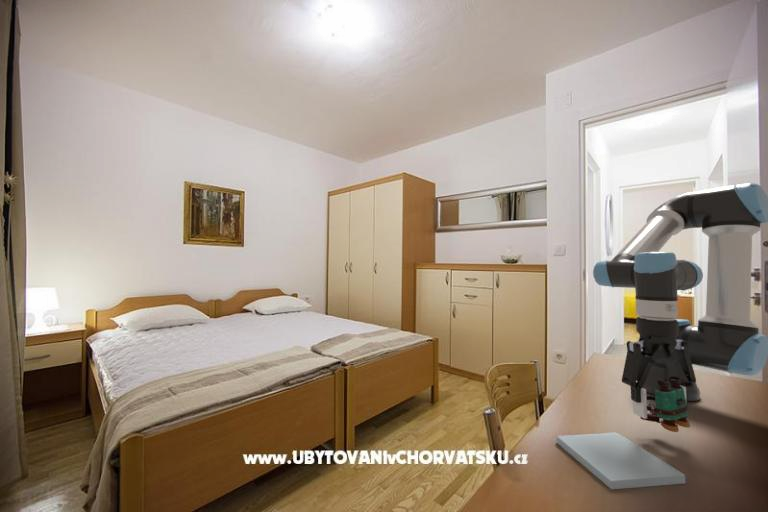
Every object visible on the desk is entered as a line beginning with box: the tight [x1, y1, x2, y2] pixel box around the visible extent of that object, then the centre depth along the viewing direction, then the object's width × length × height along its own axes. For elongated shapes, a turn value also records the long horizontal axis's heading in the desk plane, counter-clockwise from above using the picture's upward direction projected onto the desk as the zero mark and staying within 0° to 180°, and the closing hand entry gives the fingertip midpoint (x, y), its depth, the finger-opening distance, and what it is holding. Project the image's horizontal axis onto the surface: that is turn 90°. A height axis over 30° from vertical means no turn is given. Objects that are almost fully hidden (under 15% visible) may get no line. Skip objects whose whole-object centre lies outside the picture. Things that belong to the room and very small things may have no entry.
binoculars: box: [639, 376, 691, 433], centre depth 73 cm, size 9×11×10 cm
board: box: [556, 432, 686, 490], centre depth 65 cm, size 15×15×2 cm
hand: (659, 414), depth 73 cm, fingers closed on binoculars, 9 cm apart
